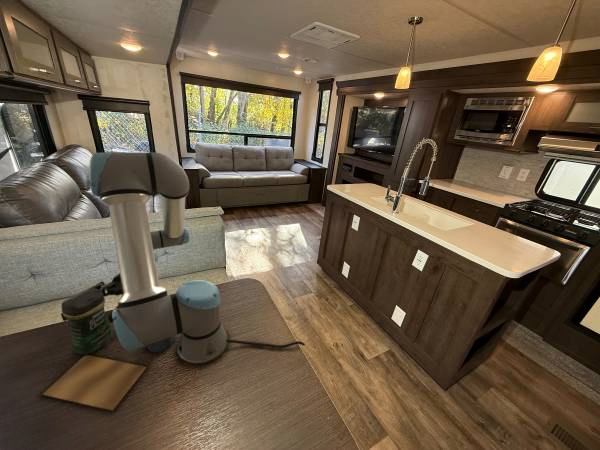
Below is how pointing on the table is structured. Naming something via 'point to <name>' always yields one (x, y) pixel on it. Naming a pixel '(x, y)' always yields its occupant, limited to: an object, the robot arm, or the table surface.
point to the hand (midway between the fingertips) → (86, 318)
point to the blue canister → (160, 345)
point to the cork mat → (96, 382)
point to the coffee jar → (87, 321)
